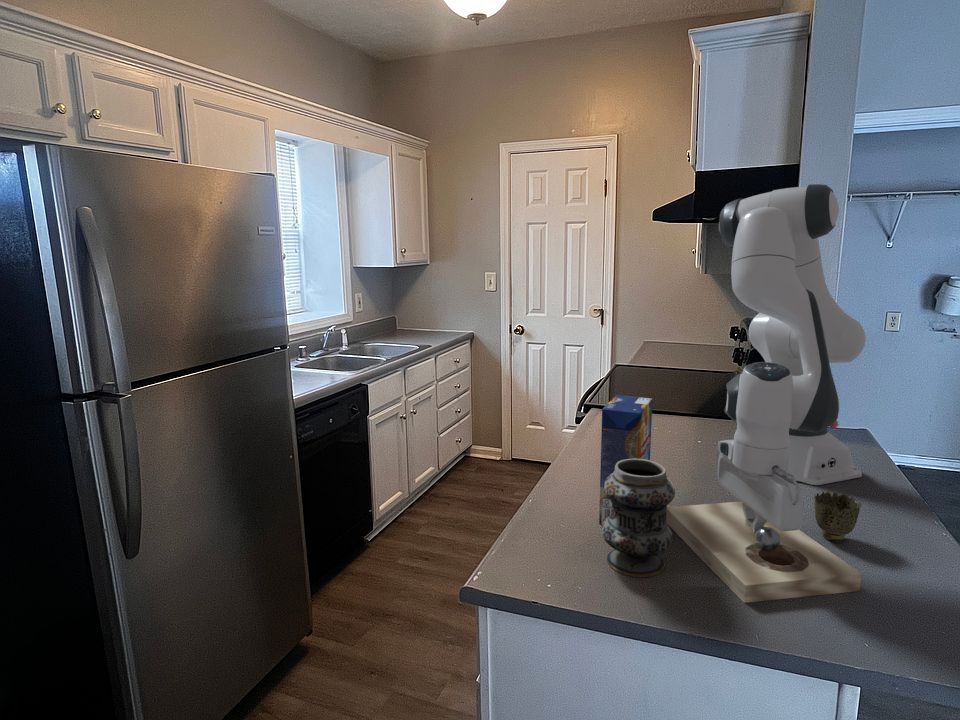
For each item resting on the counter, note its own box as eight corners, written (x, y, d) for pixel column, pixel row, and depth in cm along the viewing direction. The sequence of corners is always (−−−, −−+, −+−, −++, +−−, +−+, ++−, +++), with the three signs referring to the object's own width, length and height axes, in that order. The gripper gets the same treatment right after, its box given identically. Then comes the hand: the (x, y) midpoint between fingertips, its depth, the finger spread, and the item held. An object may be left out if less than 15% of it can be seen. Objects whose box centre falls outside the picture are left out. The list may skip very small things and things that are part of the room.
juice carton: (636, 531, 115) (641, 413, 110) (599, 523, 118) (602, 409, 114) (648, 506, 125) (652, 398, 121) (613, 500, 129) (616, 394, 124)
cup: (803, 529, 115) (806, 491, 113) (841, 529, 114) (845, 490, 113) (823, 548, 107) (828, 508, 106) (865, 548, 107) (869, 507, 106)
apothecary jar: (685, 574, 100) (691, 475, 96) (622, 587, 96) (626, 484, 93) (646, 541, 111) (650, 451, 108) (588, 551, 108) (590, 458, 104)
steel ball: (783, 554, 100) (768, 542, 104) (787, 533, 99) (772, 522, 103) (762, 556, 99) (748, 543, 103) (766, 535, 98) (751, 523, 102)
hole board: (756, 513, 121) (757, 500, 121) (859, 590, 94) (861, 574, 94) (664, 521, 119) (665, 507, 118) (743, 602, 92) (745, 585, 91)
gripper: (818, 478, 92) (809, 559, 95) (744, 437, 112) (739, 504, 115) (780, 481, 91) (773, 562, 94) (713, 439, 111) (708, 506, 114)
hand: (753, 530), depth 105 cm, fingers closed
